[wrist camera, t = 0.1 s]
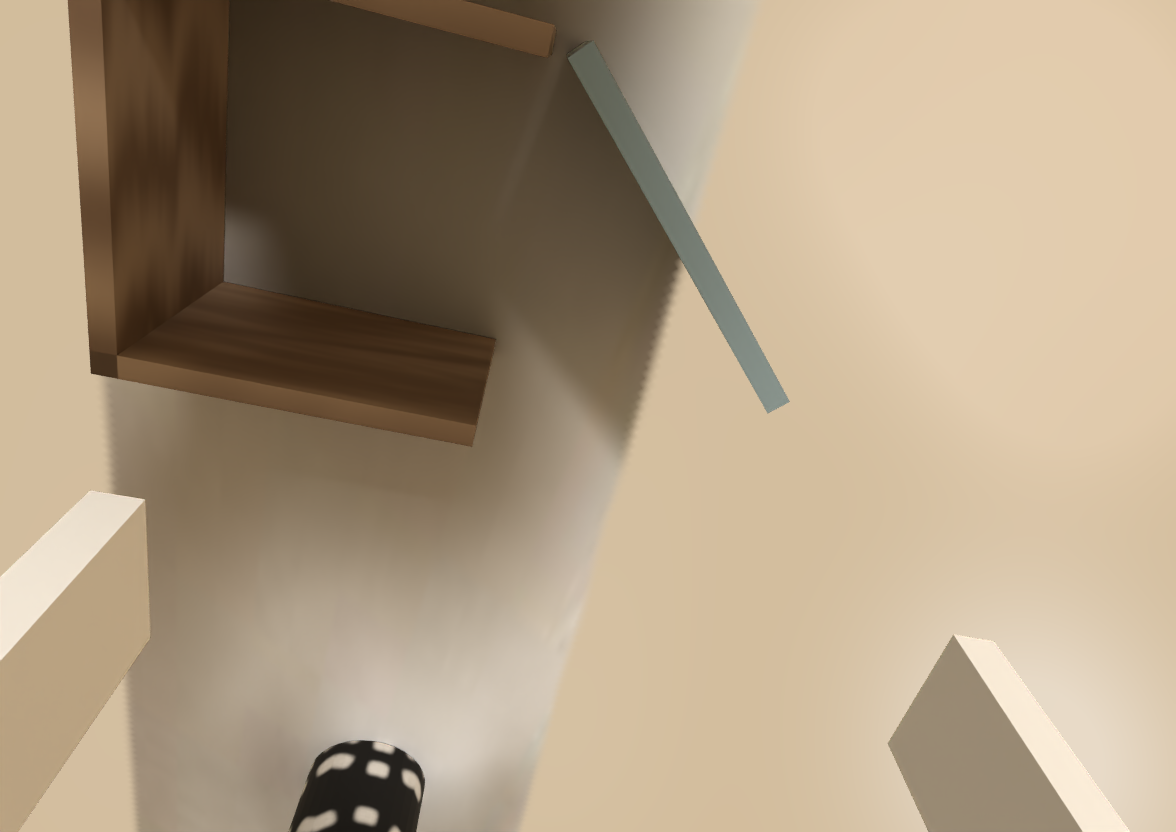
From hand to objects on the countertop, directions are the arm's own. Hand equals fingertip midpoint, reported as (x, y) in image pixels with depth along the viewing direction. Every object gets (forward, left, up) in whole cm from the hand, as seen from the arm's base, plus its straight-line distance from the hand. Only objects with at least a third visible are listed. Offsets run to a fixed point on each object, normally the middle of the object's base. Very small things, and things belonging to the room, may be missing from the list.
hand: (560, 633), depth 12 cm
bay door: (-3, +4, -28) cm, 28 cm away
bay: (-1, -9, -28) cm, 29 cm away
